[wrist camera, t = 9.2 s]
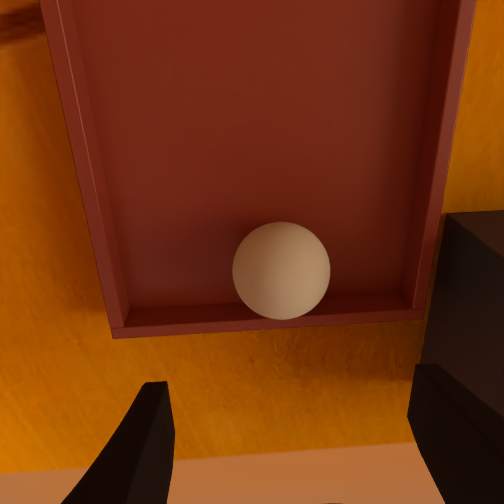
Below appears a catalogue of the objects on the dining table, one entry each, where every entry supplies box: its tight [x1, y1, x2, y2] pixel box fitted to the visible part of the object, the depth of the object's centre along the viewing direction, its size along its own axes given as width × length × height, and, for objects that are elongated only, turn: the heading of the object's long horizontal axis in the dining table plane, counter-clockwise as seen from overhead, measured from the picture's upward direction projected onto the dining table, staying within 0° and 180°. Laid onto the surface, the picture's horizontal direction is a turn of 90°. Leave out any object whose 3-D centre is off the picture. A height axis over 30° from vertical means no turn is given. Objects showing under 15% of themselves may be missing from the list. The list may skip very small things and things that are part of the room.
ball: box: [232, 222, 330, 320], centre depth 18 cm, size 4×4×4 cm
